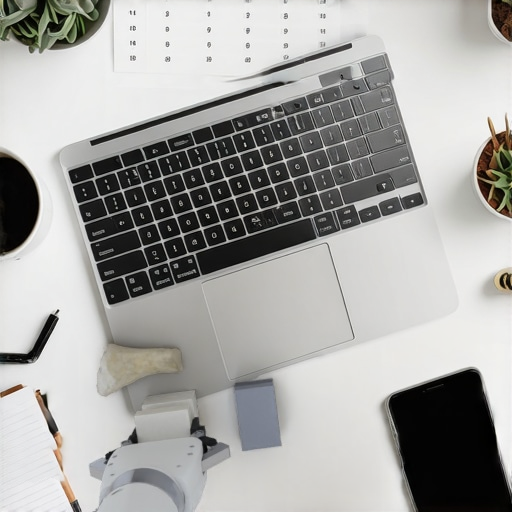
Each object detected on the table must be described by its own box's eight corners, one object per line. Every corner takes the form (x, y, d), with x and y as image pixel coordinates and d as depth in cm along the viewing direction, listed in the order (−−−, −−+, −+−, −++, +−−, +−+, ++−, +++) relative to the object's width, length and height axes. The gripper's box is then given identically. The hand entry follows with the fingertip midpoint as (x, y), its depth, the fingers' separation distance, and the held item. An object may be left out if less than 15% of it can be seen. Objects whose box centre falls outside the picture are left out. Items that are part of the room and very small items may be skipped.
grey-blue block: (280, 436, 74) (281, 446, 71) (242, 441, 74) (242, 451, 71) (272, 378, 73) (273, 385, 70) (234, 383, 73) (234, 390, 70)
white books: (202, 445, 74) (200, 457, 71) (155, 451, 74) (150, 463, 71) (195, 389, 74) (192, 399, 70) (146, 396, 74) (141, 405, 70)
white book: (198, 463, 68) (196, 470, 67) (146, 470, 68) (143, 477, 67) (189, 403, 68) (187, 409, 66) (136, 410, 68) (133, 416, 66)
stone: (103, 393, 73) (93, 405, 69) (87, 348, 73) (76, 357, 68) (185, 366, 73) (180, 377, 68) (169, 321, 73) (164, 329, 68)
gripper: (56, 561, 52) (105, 470, 70) (240, 537, 52) (242, 451, 70) (42, 484, 51) (95, 412, 69) (229, 460, 51) (234, 394, 69)
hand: (169, 432), depth 69 cm, fingers closed on white book, 6 cm apart
